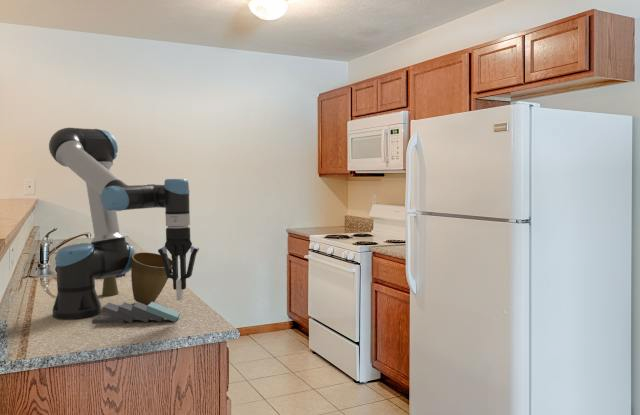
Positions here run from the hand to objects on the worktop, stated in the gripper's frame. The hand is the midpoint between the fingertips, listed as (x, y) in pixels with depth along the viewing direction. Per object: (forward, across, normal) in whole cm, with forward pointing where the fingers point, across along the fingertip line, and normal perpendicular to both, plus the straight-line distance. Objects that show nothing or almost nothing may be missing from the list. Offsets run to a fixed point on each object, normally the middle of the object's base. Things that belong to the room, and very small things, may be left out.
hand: (180, 299), depth 170 cm
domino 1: (+7, -18, 0) cm, 19 cm away
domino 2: (+6, -15, 0) cm, 16 cm away
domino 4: (+6, -6, 0) cm, 8 cm away
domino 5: (+6, -1, 0) cm, 6 cm away
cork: (+7, -38, +37) cm, 53 cm away
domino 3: (+6, -10, 0) cm, 12 cm away
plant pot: (+6, -20, +23) cm, 31 cm away
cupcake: (+7, -50, +74) cm, 89 cm away
